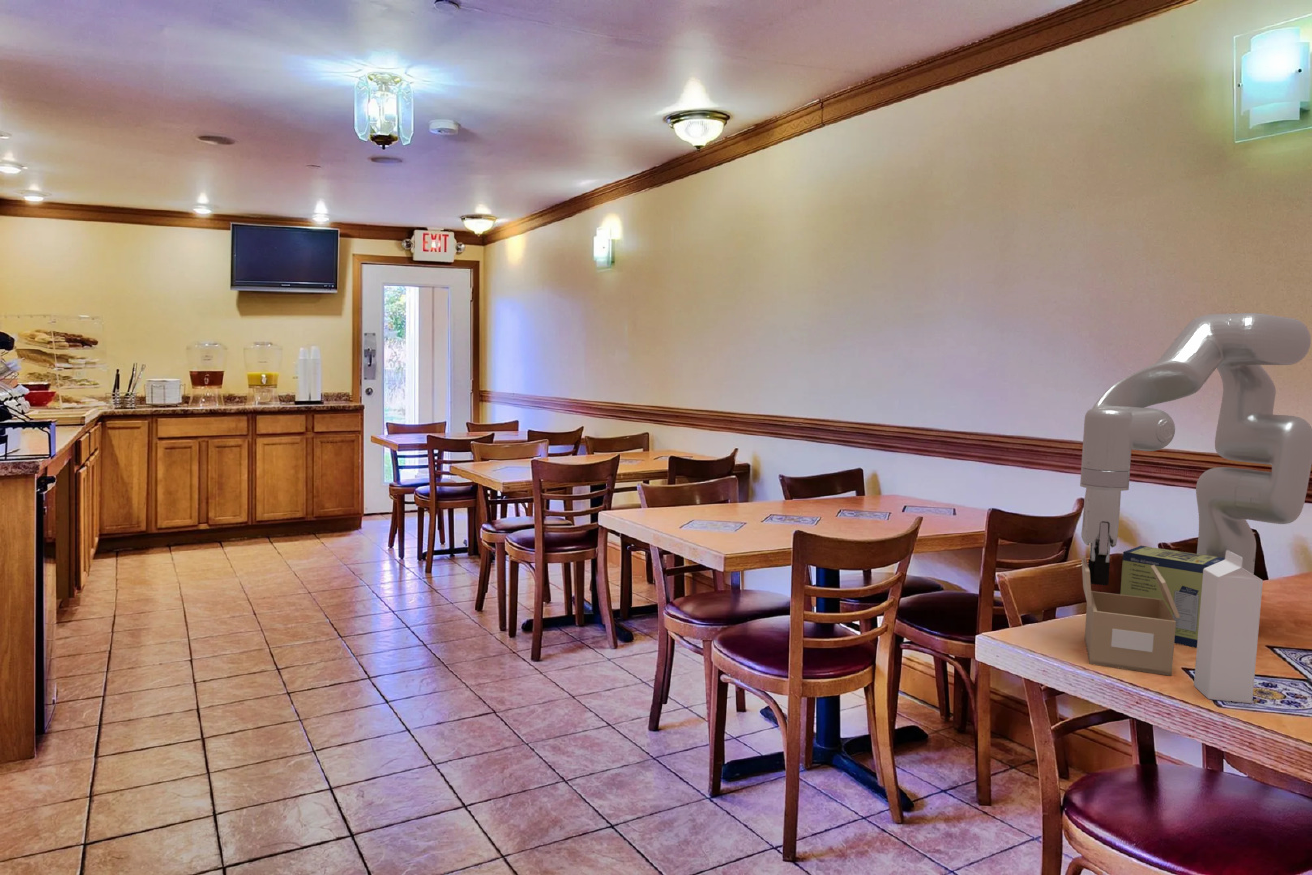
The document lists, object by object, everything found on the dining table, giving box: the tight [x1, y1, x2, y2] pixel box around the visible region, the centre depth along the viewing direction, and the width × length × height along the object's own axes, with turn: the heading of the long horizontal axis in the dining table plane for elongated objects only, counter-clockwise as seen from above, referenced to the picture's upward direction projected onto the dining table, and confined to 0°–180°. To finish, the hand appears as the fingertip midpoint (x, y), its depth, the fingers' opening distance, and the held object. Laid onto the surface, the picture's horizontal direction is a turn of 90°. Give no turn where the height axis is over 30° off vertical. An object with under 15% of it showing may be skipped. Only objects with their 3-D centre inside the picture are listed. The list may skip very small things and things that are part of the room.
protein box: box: [1119, 545, 1225, 649], centre depth 165 cm, size 10×16×16 cm
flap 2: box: [1151, 565, 1180, 618], centre depth 148 cm, size 15×1×6 cm, turn 157°
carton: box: [1084, 590, 1176, 677], centre depth 151 cm, size 16×12×9 cm
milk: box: [1193, 550, 1264, 704], centre depth 133 cm, size 6×6×22 cm
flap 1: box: [1081, 554, 1092, 607], centre depth 153 cm, size 15×1×6 cm, turn 157°
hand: (1097, 583), depth 152 cm, fingers closed
